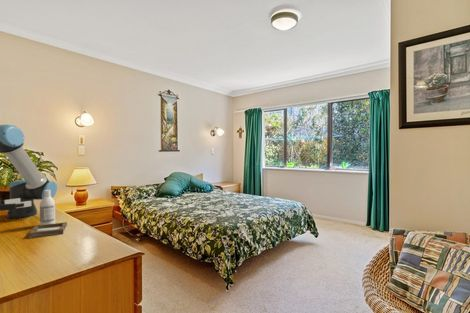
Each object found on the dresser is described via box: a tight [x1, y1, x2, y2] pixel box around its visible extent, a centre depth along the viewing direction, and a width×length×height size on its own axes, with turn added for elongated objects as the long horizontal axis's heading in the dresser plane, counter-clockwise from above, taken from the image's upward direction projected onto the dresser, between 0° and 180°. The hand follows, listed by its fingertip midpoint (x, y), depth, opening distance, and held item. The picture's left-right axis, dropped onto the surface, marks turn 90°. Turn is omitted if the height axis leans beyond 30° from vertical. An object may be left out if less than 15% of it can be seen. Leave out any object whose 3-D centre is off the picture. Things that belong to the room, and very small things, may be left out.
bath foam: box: [39, 190, 56, 225], centre depth 141 cm, size 7×7×20 cm
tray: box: [28, 221, 68, 239], centre depth 131 cm, size 14×14×2 cm
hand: (25, 202), depth 133 cm, fingers open, 13 cm apart
